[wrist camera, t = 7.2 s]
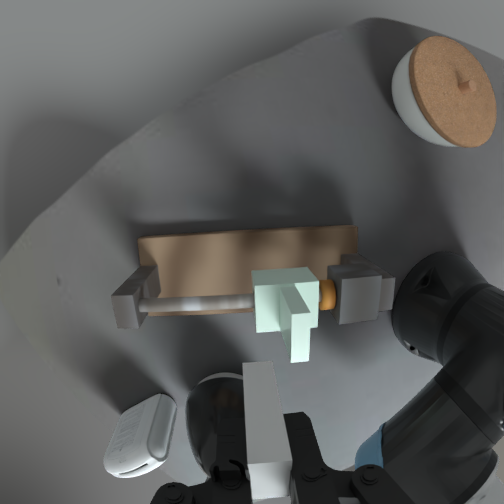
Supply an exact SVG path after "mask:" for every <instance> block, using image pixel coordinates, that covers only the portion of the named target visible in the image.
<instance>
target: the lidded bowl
mask: <svg viewBox="0 0 504 504" xmlns="http://www.w3.org/2000/svg"><path fill="white" fill-rule="evenodd" d="M391 89H392V97H393V102H394V105H395V108H396V110H397V112H398V114H399V116H400V117H401V119H402V121H403V122H404V123H405V124H406V126H407V127H408V128H409V129H410V130H411V131H412V132H413V133H415V134H416V135H417V136H419V137H420V138H422V139H424V140H426V141H428V142H430V143H433V144H436V145H441V146H447V147H465V148H466V147H477V146H480V145H482V144H484V143H485V142H486V141H487V140H488V139H489V137H490V136H491V134H492V132H493V130H494V127H495V123H496V101H495V96H494V92H493V89H492V86H491V83H490V81H489V79H488V76H487V74H486V73H485V71H484V69H483V68H482V66H481V65H480V63H479V62H478V60H477V59H476V58H475V57H474V56H473V55H472V54H471V53H470V52H469V51H468V50H467V49H466V48H465V47H463V46H462V45H461V44H459V43H457V42H456V41H454V40H452V39H449V38H446V37H442V36H432V37H428V38H426V39H424V40H422V41H421V42H420V43H418V44H417V45H416V46H415V47H414V48H412V49H411V50H410V51H409V52H408V53H407V54H405V56H404V57H403V58H402V59H401V60H400V62H399V63H398V65H397V66H396V68H395V71H394V74H393V78H392V87H391Z"/></svg>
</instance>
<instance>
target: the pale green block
mask: <svg viewBox="0 0 504 504" xmlns="http://www.w3.org/2000/svg"><path fill="white" fill-rule="evenodd" d="M251 273H252V293H254V302H255V308H253V313H254V319H255V326H256V332H257V333H259V332H272V331H281V333H282V336H283V339H284V342H285V345H286V349H287V352H288V355H289V358H290V361H291V363H295V362H304V361H309V347H310V328H314V327H318V304H319V280H318V279H317V278H316V277H315V276H314V274H313V273H312V272H311V271H310V270H309V268H308V267H300V268H285V269H269V270H253V271H251Z"/></svg>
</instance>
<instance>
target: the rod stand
mask: <svg viewBox="0 0 504 504" xmlns="http://www.w3.org/2000/svg"><path fill="white" fill-rule="evenodd" d="M137 241H138V250H139V258H140V265H141V266H140V267H139V268H138V269H137V270H136V271H135V272H134V273H133V274H132V275H131V276H130V277H129V278H128V279H127V280H126V281H125V282H124V283H123V284H122V285H121V286H120V287H119V288H118V289H117V290H116V291H115V292H114V293H113V294H112V295H111V299H112V304H113V309H114V314H115V318H116V323H117V327H118V328H140V326H141V324H142V322H143V321H144V319H145V317H146V316H147V314H148V315H149V316H178V315H205V314H226V313H244V312H253V308H255V302H254V293H252V273H251V271H253V270H269V269H285V268H300V267H308V268H309V270H310V271H311V272H312V273H313V274H314V276H315V277H316V278H317V279H318V280H319V304H318V307H319V309H320V310H328V309H329V311H330V312H331V314H332V315H333V316H334V318H335V319H336V321H337V322H338V324H339V325H340V324H348V323H355V322H363V321H369V320H376V319H377V318H378V311H385V310H392V305H393V297H394V288H395V277H394V276H392V275H391V274H389V273H388V272H386V271H384V270H383V269H381V268H380V267H378V266H377V265H375V264H373V263H372V262H370V261H369V260H367V259H365V258H364V257H362V256H361V255H359V254H357V244H358V227H357V226H354V225H336V226H312V227H290V228H269V229H250V230H233V231H216V232H200V233H184V234H170V235H155V236H142V237H140V238H138V239H137Z"/></svg>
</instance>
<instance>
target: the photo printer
mask: <svg viewBox="0 0 504 504" xmlns="http://www.w3.org/2000/svg"><path fill="white" fill-rule="evenodd" d="M176 415H177V407H176V404H175V402H174V400H173V399H172V398H170V397H169V396H167V395H164V394H157V395H154V396H152V397H150V398H148V399H146V400H144V401H142V402H141V403H139V404H137V405H135V406H133V407H131V408H130V409H128V410H126V411H125V412H124V413H123V414H122V415H121V416H120V418H119V421H118V423H117V426H116V428H115V431H114V433H113V436H112V438H111V441H110V443H109V446H108V448H107V451H106V453H105V456H104V466H105V469H106V470H107V472H109V473H111V474H112V475H114V476H116V477H121V478H129V477H135V476H139V475H142V474H145V473H147V472H149V471H152V470H154V469H155V468H157V467H159V466H160V465H161V464H162V463H164V462H165V461H166V459H167V458H168V454H169V449H170V444H171V440H172V435H173V430H174V425H175V420H176Z"/></svg>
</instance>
